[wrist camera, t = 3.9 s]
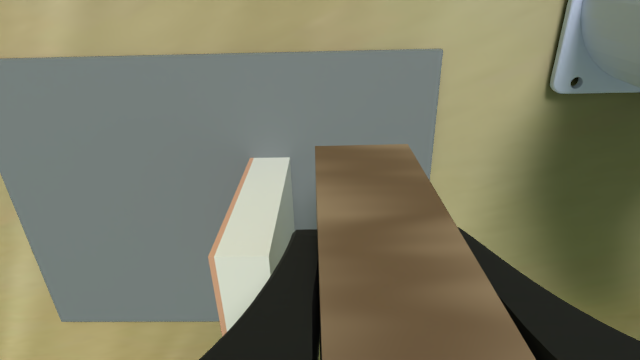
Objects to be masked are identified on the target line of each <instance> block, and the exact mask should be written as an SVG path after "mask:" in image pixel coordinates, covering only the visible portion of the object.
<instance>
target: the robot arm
mask: <svg viewBox="0 0 640 360" xmlns="http://www.w3.org/2000/svg"><path fill="white" fill-rule="evenodd" d="M576 77H578V82H577V84H576V85H574V86H571V81H572V80H573V79H574V78H576ZM550 86H551V89H552V90H554V91H555V92H557V93H560V94H582V93H635V92H640V0H568V4H567V8H566V13H565V17H564V22H563V26H562V31H561V35H560V40H559V44H558V49H557V53H556V58H555V62H554V67H553V71H552V76H551V80H550ZM457 228H458V229H459V231H460V233H461V234H462V236H463V238H464V239H465V241H466V243H467V244H468V246H469V248H470V250H471V251H472V253H473V255H474V256H475V258H476V260H477V261H478V263H479V265H480V266H481V268H482V270H483V271H484V273H485V275H486V276H487V278H488V280H489V281H490V283H491V285H492V287H493V288H494V290H495V292H496V293H497V295H498V297H499V298H500V300H501V302H502V303H503V305H504V307H505V308H506V310H507V312H508V313H509V315H510V317H511V318H512V320H513V322H514V324H515V325H516V327H517V329H518V330H519V332H520V334H521V335H522V337H523V339H524V340H525V342H526V344H527V345H528V347H529V349H530V350H531V352H532V354H533V356H534V357H535V359H536V360H640V341H638V340H636V339H634V338H632V337H630V336H628V335H626V334H624V333H621V332H619V331H618V330H616V329H614V328H612V327H610V326H608V325H606V324H604V323H602V322H600V321H598V320H597V319H595V318H593V317H591V316H589V315H588V314H586V313H584V312H582V311H580V310H579V309H577V308H575V307H573V306H572V305H570V304H568V303H567V302H565V301H563V300H562V299H560V298H558V297H557V296H555V295H554V294H552V293H550V292H549V291H547V290H546V289H544V288H543V287H541V286H540V285H538V284H537V283H535V282H533V281H532V280H531V279H529V278H528V277H526V276H525V275H523V274H522V273H520V272H519V271H518V270H516V269H515V268H513V267H512V266H511V265H509V264H508V263H506V262H505V261H504V260H502V259H501V258H500V257H498V256H497V255H496V254H494V253H493V252H492V251H490V250H489V249H488V248H486V247H485V246H484V245H482V244H481V243H480V242H478V241H477V240H476V239H474V238H473V237H472V236H470V235H469V234H467V233H466V232H465V231H463V230H462V229H460V228H459V227H457ZM319 343H320V321H319V266H318V234H317V229H304V230H295V231H294V232H293V233H292V236H291V239H290V241H289V244H288V246H287V248H286V250H285V252H284V254H283V256H282V258H281V260H280V261H279V263H278V265H277V266H276V268H275V270H274V271H273V273H272V275H271V276H270V278H269V279H268V281H267V282H266V284H265V285H264V287H263V288H262V289H261V291H260V292H259V294H258V295H257V296H256V298H255V299H254V301H253V302H252V303H251V305H250V306H249V307H248V308H247V310H246V311H245V312H244V313H243V314H242V316H241V317H240V318H239V319H238V320H237V321H236V323H235V324H234V325H233V326H232V327H231V328H230V329H229V330H228V331H227V333H226V334H225V335H224V336H223V337H222V338H221V339H220V340H219V341H218V342H217V343H216V344H215V345H214V346H213V347H212V348H211V349H210V350H209V351H208V352H207V353H206V354H205V355H204V356H203V357H201V358H200V359H199V360H318V356H319Z"/></svg>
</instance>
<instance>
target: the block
mask: <svg viewBox="0 0 640 360" xmlns="http://www.w3.org/2000/svg"><path fill="white" fill-rule="evenodd" d="M315 174H316V223H317V234H318V266H319V321H320V359H321V360H536V359H535V357H534V356H533V354H532V352H531V350H530V349H529V347H528V345H527V344H526V342H525V340H524V339H523V337H522V335H521V334H520V332H519V330H518V329H517V327H516V325H515V324H514V322H513V320H512V318H511V317H510V315H509V313H508V312H507V310H506V308H505V307H504V305H503V303H502V302H501V300H500V298H499V297H498V295H497V293H496V292H495V290H494V288H493V287H492V285H491V283H490V281H489V280H488V278H487V276H486V275H485V273H484V271H483V270H482V268H481V266H480V265H479V263H478V261H477V260H476V258H475V256H474V255H473V253H472V251H471V250H470V248H469V246H468V244H467V243H466V241H465V239H464V238H463V236H462V234H461V233H460V231H459V229H458V228H457V226H456V224H455V223H454V221H453V219H452V218H451V216H450V214H449V213H448V211H447V209H446V207H445V206H444V204H443V202H442V201H441V199H440V197H439V196H438V194H437V192H436V191H435V189H434V187H433V186H432V184H431V182H430V181H429V179H428V177H427V175H426V174H425V172H424V170H423V169H422V167H421V165H420V164H419V162H418V160H417V159H416V157H415V155H414V154H413V152H412V150H411V149H410V147H409V145H408V144H387V145H341V146H315Z"/></svg>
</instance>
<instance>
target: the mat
mask: <svg viewBox="0 0 640 360" xmlns="http://www.w3.org/2000/svg"><path fill="white" fill-rule="evenodd" d="M442 56H443V50H442V49H406V50H362V51H317V52H273V53H228V54H184V55H139V56H95V57H51V58H6V59H0V173H1V176H2V178H3V181H4V183H5V185H6V188H7V190H8V193H9V195H10V198H11V200H12V202H13V205H14V207H15V210H16V212H17V215H18V217H19V219H20V222H21V224H22V227H23V229H24V232H25V234H26V236H27V239H28V241H29V244H30V246H31V249H32V251H33V254H34V256H35V258H36V261H37V263H38V266H39V268H40V271H41V273H42V275H43V278H44V280H45V283H46V285H47V288H48V290H49V292H50V295H51V297H52V300H53V302H54V305H55V307H56V309H57V312H58V314H59V317H60V319H61V322H122V321H219V315H218V309H217V304H216V298H215V293H214V287H213V282H212V276H211V271H210V265H209V260H208V256H209V253H210V251H211V249H212V246H213V244H214V242H215V239H216V237H217V234H218V232H219V230H220V227H221V225H222V223H223V220H224V218H225V216H226V213H227V211H228V209H229V206H230V204H231V201H232V199H233V197H234V194H235V192H236V190H237V187H238V185H239V183H240V180H241V178H242V176H243V173H244V171H245V168H246V166H247V164H248V161H249V159H250V158H281V157H290V165H291V181H292V197H293V212H294V228H295V230H304V229H317V223H316V174H315V146H341V145H387V144H408V145H409V147H410V149H411V150H412V152H413V154H414V155H415V157H416V159H417V160H418V162H419V164H420V165H421V167H422V169H423V170H424V172H425V174H426V175H427V177H428V179H429V181H430V172H431V162H432V152H433V143H434V133H435V123H436V114H437V104H438V94H439V85H440V75H441V65H442Z"/></svg>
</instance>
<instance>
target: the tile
mask: <svg viewBox="0 0 640 360" xmlns="http://www.w3.org/2000/svg"><path fill="white" fill-rule="evenodd" d="M294 231H295V228H294V212H293V197H292V181H291V165H290V157H281V158H250V159H249V161H248V164H247V166H246V168H245V171H244V173H243V176H242V178H241V180H240V183H239V185H238V187H237V190H236V192H235V194H234V197H233V199H232V201H231V204H230V206H229V209H228V211H227V213H226V216H225V218H224V220H223V223H222V225H221V227H220V230H219V232H218V234H217V237H216V239H215V242H214V244H213V246H212V249H211V251H210V253H209V256H208V260H209V265H210V271H211V276H212V282H213V287H214V293H215V298H216V304H217V309H218V315H219V321H220V326H221V332H222V337H223V336H224V335H225V334H226V333H227V331H228V330H229V329H230V328H231V327H232V326H233V325H234V324H235V323H236V321H237V320H238V319H239V318H240V317H241V316H242V314H243V313H244V312H245V311H246V310H247V308H248V307H249V306H250V305H251V303H252V302H253V301H254V299H255V298H256V296H257V295H258V294H259V292H260V291H261V289H262V288H263V287H264V285H265V284H266V282H267V281H268V279H269V278H270V276H271V275H272V273H273V271H274V270H275V268H276V266H277V265H278V263H279V261H280V260H281V258H282V256H283V254H284V252H285V250H286V248H287V246H288V244H289V241H290V239H291V236H292V233H293V232H294Z"/></svg>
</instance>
